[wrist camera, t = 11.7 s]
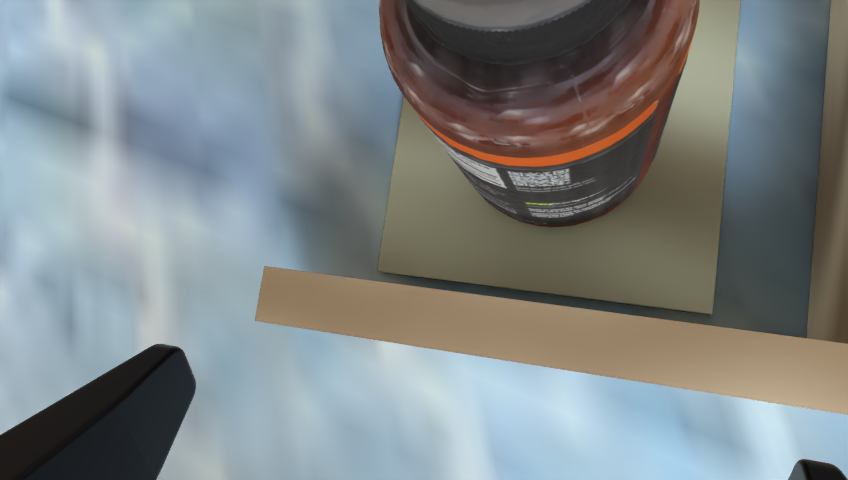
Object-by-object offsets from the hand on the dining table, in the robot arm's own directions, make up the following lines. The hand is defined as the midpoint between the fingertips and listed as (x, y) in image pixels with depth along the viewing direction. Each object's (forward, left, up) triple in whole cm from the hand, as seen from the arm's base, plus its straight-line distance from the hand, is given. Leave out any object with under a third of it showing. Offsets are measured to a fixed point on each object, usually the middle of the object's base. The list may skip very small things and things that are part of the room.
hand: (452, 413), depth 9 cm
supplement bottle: (+7, +3, -10) cm, 13 cm away
